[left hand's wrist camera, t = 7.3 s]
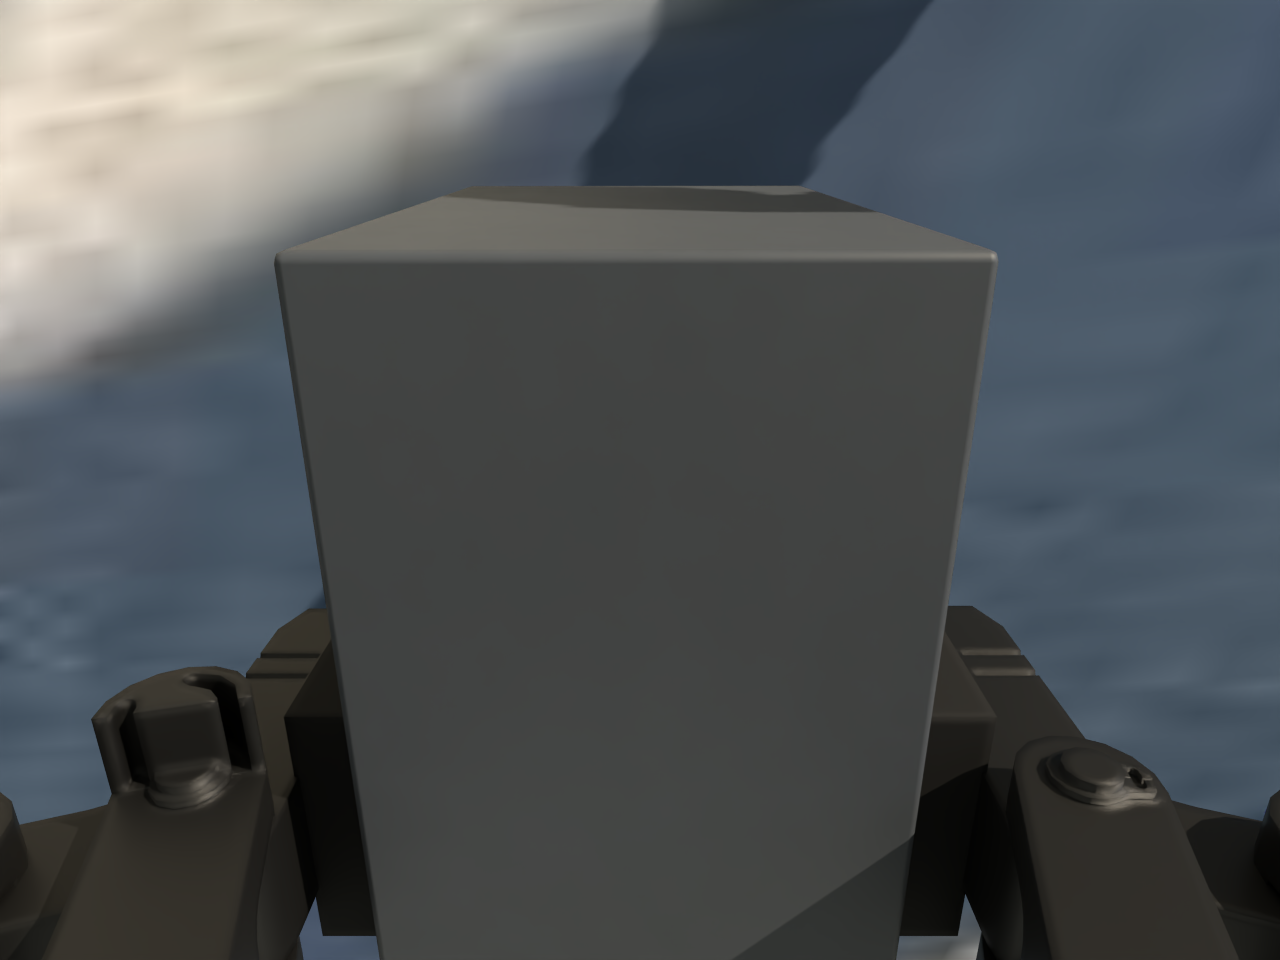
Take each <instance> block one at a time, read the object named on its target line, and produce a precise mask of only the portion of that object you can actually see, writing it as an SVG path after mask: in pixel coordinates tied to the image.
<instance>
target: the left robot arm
mask: <svg viewBox="0 0 1280 960" xmlns="http://www.w3.org/2000/svg"><path fill="white" fill-rule="evenodd" d="M91 720H92V724H93V728H94V731H95V735H96V738H97V742H98V746H99V749H100V753H101V756H102V760H103V764H104V767H105V771H106V775H107V778H108V782H109V785H110V789H111V793H112V795H111V797H110V800H109V802H108V804H107V805H104V806H101V807H97V808H94V809H90V810H86V811H82V812H77V813H72V814H68V815H63V816H58V817H54V818H49V819H44V820H40V821H35V822H30V823H26V824H21V825H19V822H18V819H17V816H16V813H15V810H14V807H13V804H12V801H11V800H9V799H8V798H7V797H6V796H4V795H3V794H2V793H1V792H0V960H303V953H302V948H301V942H300V937H299V935H300V932H301V930H302V928H303V925H304V923H305V921H306V918H307V916H308V914H309V911H310V909H311V906H312V904H313V902H314V899H315V897H316V900H317V906H318V911H319V917H320V923H321V928H322V934H323V936H376V931H375V924H374V918H373V911H372V904H371V898H370V891H369V885H368V878H367V872H366V865H365V858H364V852H363V845H362V839H361V832H360V825H359V819H358V812H357V806H356V799H355V793H354V786H353V779H352V773H351V766H350V760H349V753H348V747H347V740H346V733H345V727H344V720H343V714H342V707H341V700H340V694H339V687H338V681H337V674H336V668H335V661H334V654H333V648H332V641H331V635H330V628H329V622H328V615H327V609H308V610H306V611H305V612H303V613H302V614H300V615H299V616H297V617H296V618H294V619H293V620H291V621H290V622H288V623H287V624H285V625H284V626H282V627H281V628H279V629H278V630H277V632H276V633H275V634H274V636H273V637H272V638H271V640H270V641H269V643H268V644H267V645H266V647H265V648H264V649H263V651H262V652H261V657H260V658H257V659H256V660H255V662H254V663H253V665H252V666H251V667H250V669H249V670H248V671H247V673H246V678H245V677H244V676H243V675H241V674H240V673H239V672H238V671H234V670H230V669H225V668H221V667H217V666H212V667H188V668H183V669H179V670H174V671H170V672H165V673H161V674H157V675H155V676H152V677H150V678H148V679H145V680H143V681H140V682H138V683H135V684H133V685H130V686H129V687H127V688H126V689H124V690H123V691H121V692H120V693H118V694H117V695H115V696H114V697H112V698H111V699H109V700H107V701H106V702H105V703H104V704H103V706H102V707H101V708H100V709H99V710H98V712H97V713H96V714H95V715H94V716H93V718H92V719H91ZM965 894H966V896H967V898H968V901H969V903H970V906H971V908H972V910H973V913H974V915H975V917H976V920H977V922H978V924H979V927H980V929H981V931H982V932H981V937H980V942H979V948H978V953H977V958H976V960H1280V790H1279V791H1278V792H1277V793H1275V794H1274V795H1273V796H1272V797H1270V800H1269V803H1268V806H1267V809H1266V812H1265V815H1264V818H1263V821H1258V820H1254V819H1249V818H1244V817H1240V816H1235V815H1230V814H1226V813H1221V812H1216V811H1212V810H1207V809H1202V808H1198V807H1193V806H1190V805H1186V804H1183V803H1179V802H1176V801H1172V800H1171V798H1170V796H1169V793H1168V792H1167V790H1166V789H1165V788H1164V786H1163V785H1162V783H1161V782H1160V781H1159V779H1158V778H1157V777H1156V775H1155V774H1154V773H1153V772H1151V771H1150V770H1149V769H1148V768H1146V767H1145V766H1144V765H1142V764H1141V763H1140V762H1138V761H1137V760H1136V759H1134V758H1133V757H1131V756H1129V755H1127V754H1125V753H1123V752H1121V751H1119V750H1117V749H1114V748H1112V747H1110V746H1108V745H1106V744H1103V743H1099V742H1095V741H1091V740H1087V739H1085V738H1084V736H1083V735H1082V734H1081V732H1080V731H1079V730H1078V728H1077V727H1076V725H1075V724H1074V723H1073V721H1072V720H1071V719H1070V717H1069V716H1068V715H1067V713H1066V712H1065V710H1064V709H1063V708H1062V706H1061V705H1060V704H1059V702H1058V701H1057V700H1056V698H1055V697H1054V695H1053V694H1052V693H1051V691H1050V690H1049V689H1048V687H1047V686H1046V685H1045V683H1044V682H1043V680H1042V679H1041V678H1040V676H1036V675H1035V670H1034V668H1033V667H1032V666H1031V664H1030V663H1029V661H1028V660H1027V659H1026V657H1025V656H1024V655H1021V653H1020V649H1019V648H1018V646H1017V645H1016V644H1015V642H1014V641H1013V640H1012V638H1011V637H1010V636H1009V634H1008V633H1007V631H1006V630H1005V629H1004V627H1003V626H1001V625H1000V624H998V623H997V622H995V621H994V620H992V619H991V618H989V617H988V616H986V615H985V614H983V613H982V612H980V611H979V610H977V609H976V608H974V607H973V606H948V608H947V615H946V622H945V629H944V636H943V642H942V649H941V656H940V663H939V670H938V677H937V683H936V690H935V697H934V704H933V711H932V717H931V724H930V731H929V738H928V745H927V751H926V758H925V765H924V772H923V779H922V786H921V792H920V799H919V806H918V813H917V820H916V826H915V833H914V840H913V847H912V854H911V861H910V867H909V874H908V881H907V888H906V895H905V901H904V908H903V915H902V922H901V929H900V935H899V936H958V931H959V926H960V920H961V914H962V909H963V903H964V898H965Z"/></svg>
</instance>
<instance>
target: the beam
mask: <svg viewBox="0 0 1280 960" xmlns="http://www.w3.org/2000/svg"><path fill="white" fill-rule="evenodd" d="M274 266H275V273H276V279H277V286H278V293H279V299H280V306H281V312H282V319H283V325H284V332H285V339H286V345H287V352H288V358H289V365H290V372H291V378H292V385H293V391H294V398H295V404H296V411H297V418H298V424H299V431H300V437H301V444H302V450H303V457H304V464H305V470H306V477H307V483H308V490H309V497H310V503H311V510H312V516H313V523H314V529H315V536H316V543H317V549H318V556H319V562H320V569H321V575H322V582H323V589H324V595H325V602H326V608H327V615H328V622H329V628H330V635H331V641H332V648H333V654H334V661H335V668H336V674H337V681H338V687H339V694H340V700H341V707H342V714H343V720H344V727H345V733H346V740H347V747H348V753H349V760H350V766H351V773H352V779H353V786H354V793H355V799H356V806H357V812H358V819H359V825H360V832H361V839H362V845H363V852H364V858H365V865H366V872H367V878H368V885H369V891H370V898H371V904H372V911H373V918H374V924H375V931H376V937H377V944H378V950H379V957H380V960H896V956H897V949H898V942H899V935H900V929H901V922H902V915H903V908H904V901H905V895H906V888H907V881H908V874H909V867H910V861H911V854H912V847H913V840H914V833H915V826H916V820H917V813H918V806H919V799H920V792H921V786H922V779H923V772H924V765H925V758H926V751H927V745H928V738H929V731H930V724H931V717H932V711H933V704H934V697H935V690H936V683H937V677H938V670H939V663H940V656H941V649H942V642H943V636H944V629H945V622H946V615H947V608H948V602H949V595H950V588H951V581H952V574H953V568H954V561H955V554H956V547H957V540H958V533H959V527H960V520H961V513H962V506H963V499H964V493H965V486H966V479H967V472H968V465H969V458H970V452H971V445H972V438H973V431H974V424H975V418H976V411H977V404H978V397H979V390H980V384H981V377H982V370H983V363H984V356H985V349H986V343H987V336H988V329H989V322H990V315H991V309H992V302H993V295H994V288H995V281H996V274H997V268H998V258H997V254H996V252H994V251H991V250H989V249H987V248H984V247H981V246H978V245H975V244H972V243H969V242H966V241H963V240H960V239H957V238H954V237H951V236H948V235H945V234H942V233H939V232H936V231H933V230H930V229H927V228H924V227H921V226H918V225H915V224H912V223H909V222H906V221H903V220H900V219H897V218H894V217H891V216H888V215H885V214H882V213H879V212H876V211H873V210H870V209H867V208H864V207H861V206H858V205H855V204H852V203H849V202H846V201H843V200H840V199H837V198H834V197H831V196H828V195H825V194H822V193H819V192H816V191H813V190H810V189H807V188H804V187H801V186H472V187H469V188H466V189H463V190H460V191H457V192H454V193H451V194H448V195H445V196H442V197H439V198H436V199H433V200H431V201H428V202H425V203H422V204H419V205H416V206H413V207H410V208H407V209H404V210H401V211H398V212H395V213H392V214H389V215H386V216H383V217H380V218H378V219H375V220H372V221H369V222H366V223H363V224H360V225H357V226H354V227H351V228H348V229H345V230H342V231H339V232H336V233H333V234H330V235H327V236H324V237H322V238H319V239H316V240H313V241H310V242H307V243H304V244H301V245H298V246H295V247H292V248H289V249H286V250H284V251H281V252H279V253H277V254H276V256H275V261H274Z"/></svg>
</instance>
